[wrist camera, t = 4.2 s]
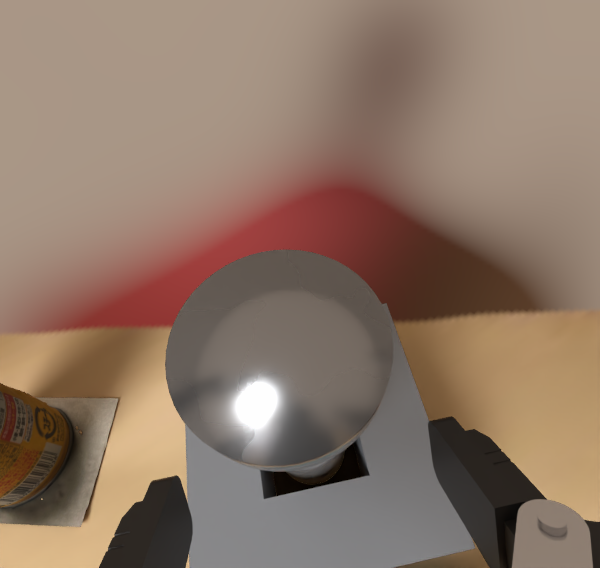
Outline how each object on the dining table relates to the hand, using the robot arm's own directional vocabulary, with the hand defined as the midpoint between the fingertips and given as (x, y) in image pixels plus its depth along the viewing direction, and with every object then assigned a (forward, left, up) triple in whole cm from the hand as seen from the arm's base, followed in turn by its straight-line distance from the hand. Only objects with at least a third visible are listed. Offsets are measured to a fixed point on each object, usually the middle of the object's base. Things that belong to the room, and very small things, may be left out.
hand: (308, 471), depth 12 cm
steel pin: (0, +2, -12) cm, 12 cm away
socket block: (0, +2, -12) cm, 12 cm away
